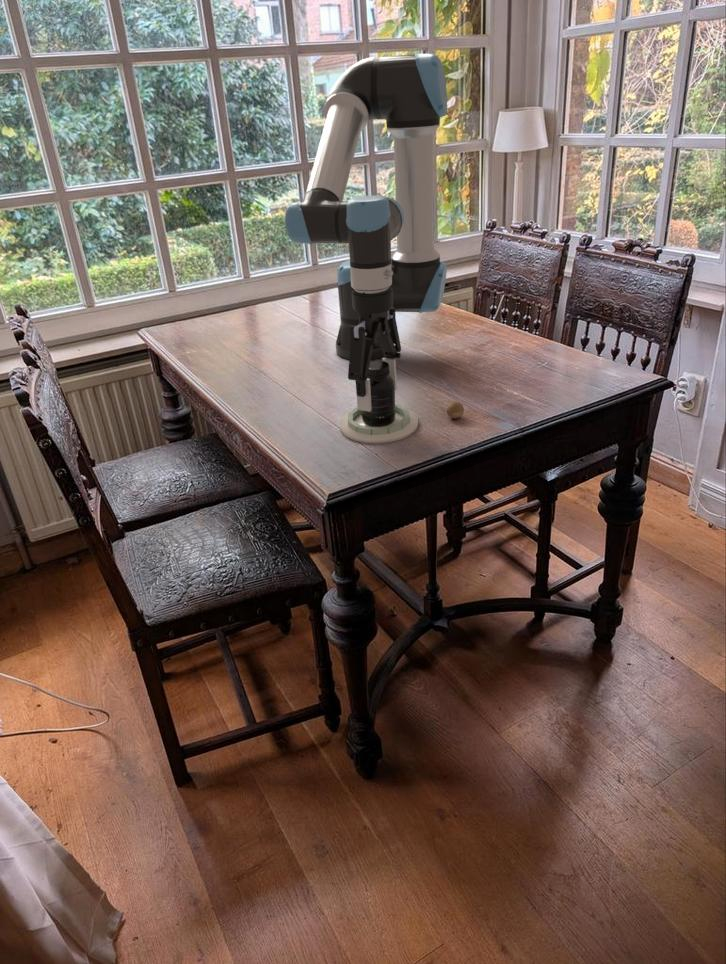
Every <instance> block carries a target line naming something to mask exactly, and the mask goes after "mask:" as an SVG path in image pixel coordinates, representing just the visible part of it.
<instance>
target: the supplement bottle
mask: <svg viewBox="0 0 726 964" xmlns="http://www.w3.org/2000/svg"><path fill="white" fill-rule="evenodd" d="M389 374H390V370H389V364H388V363H387V362H384V361H382V360H371V361H370V366H369V371H368V376H367V378H368V379H370V390H371V407H372V410H371V411H370V412H368V411H363V410H362V420H363V422H364V423H365V424H367V425H369V426H373V427H383V426H387V425H390V424H391V423H393V422H394V420H395V404H396V390H395V382H394V379H393V378H392V377H391V376H390V375H389Z"/></svg>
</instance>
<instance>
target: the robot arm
mask: <svg viewBox="0 0 726 964" xmlns="http://www.w3.org/2000/svg"><path fill="white" fill-rule="evenodd" d="M446 81H447V80H446V75H445V70H444V67H443V63H442V60H441V59H440V57H439V56H438V55H436V54H434V53H419V52H417V53H412V54H402V55H401V54H399V55H389V56H379V57H378V56H372V57H366V58H363V59H361V60H359V61H357V62H356V63H354V64H352V65H351V66H349V67H348V68H347V69H346V70H345V71H344V72H343V73H342V74H341V75H340V76H339V77H338V79H337V80H336V81H335V83H334V84H333V86H332V87H331V89H330V90H329V92H328V95H327V97H326V100H325V104H324V108H323V113H324V119H325V123H324V125H323V129H322V132H321V135H320V140H319V142H318V143H319V144H318V147H317V150H316V154H315V158H314V161H313V164H312V168H311V172H310V176H309V179H308V183H307V186H306V190H305V193H304V196H303V199H302V201H300V200H299V201H296V202H295V201H294V202H291V203H290V204H288V205H287V206H286V207H287V208H286V209H285V214H284V224H285V225H284V226H285V231H286V233H287V236H288V239H289V240H290V241H291V242H293V243H295V244H304V245H305V244H307V245H315V244H317V245H318V244H319V245H321V244H322V245H323V244H348V251H349V259H348V260H346V261H343V262H342V263H341V264H340V265H339V266H338V268H337V282H336V285H337V293H338V304H339V314H340V319H339V320H340V325H339V329H338V333H337V337H336V342H335V353H336V355H338V356H339V357H340V358H343V359H345V360H346V359H347V360H348V361H349V362H348V372H347V378H348V380H349V381H355V391H356V393H355V395H356V407H357V408H358V410H363V411H368V412H370V411H371V410H372V407H371V390H370V379H368V378H367V376H368V371H369V366H370V362H372V360H376V359H380V358H381V361H384V362H387V363H388V364H389V370H390V374H389V375H390V376H391V377H392V378H393V379H394V382H395V391H397V388H398V386H397V363H396V362H397V361H396V359H400V358H401V357H402V356H401V355H402V354H401V353H400V352H401V351H402V346H401V345H402V344H401V340H400V335H399V330H398V324H397V318H396V313H419V314H422V313H432V312H433V313H434V312H436V311H438V310H439V308H441V304H442V301H443V297H444V292H445V287H446V286H445V285H446V281H447V267H448V266H447V263H445V262H443V261H441V254H440V253H439V252H438V250H436V248H435V247H434V133H435V132H436V131H437V130H438V129H439V127H440V124H441V123H440V122H441V118H443V117H446V115H447V114H448V93H447V92H448V91H447V83H446ZM372 120H373V121H374V120H378V121H379V120H385V121H386V122H385V124H386V125H385V126H386V131H388V132H389V133H390V134H391V135H392V138H393V155H394V160H393V161H394V182H395V183H394V184H395V185H394V188H395V189H394V190H395V191H394V192H395V199H394V198H393V197H392V198H391V197H386V196H384V195H373V194H372V195H371V194H370V195H361V196H357V197H353V198H350V199H349V200H344V196H345V193H346V189H347V185H348V181H349V177H350V173H351V170H352V166H353V162H354V158H355V154H356V150H357V146H358V142H359V138H360V135H361V132H362V131H363V130H365V129H366V127H367V126H368V122H369V121H372ZM394 239H396V247H397V248H396V250H395V251H394V252H393V254H392V246H391V244H392V241H393V240H394Z"/></svg>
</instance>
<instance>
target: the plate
mask: <svg viewBox="0 0 726 964" xmlns="http://www.w3.org/2000/svg"><path fill="white" fill-rule="evenodd" d="M418 428H419V416H418V415H417V414H416V412H414V411H412V410H411V409H409V408H406V407H404V406H402V405H401V404H397V403H395V420H394V422H393V423H391V424H390V425H387V426H383V427H373V426H369V425H367V424H365V423H364V422H363V420H362V410H358V408H357V406H355V408H353V409H352V410H350V411H348V412H346V413H345V414H344V415H342V417H341V418H340V420H339V430H340V432H341V434H342V435H343V436H345V438H347V439H349V440H352V441H355V442H359V443H364V444H387V443H393V442H398V441H400V440H403V439H405V438H407V437H410V436H411V435H413V434H414V433H415V432H416V431H417V429H418Z"/></svg>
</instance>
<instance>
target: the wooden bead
mask: <svg viewBox="0 0 726 964" xmlns="http://www.w3.org/2000/svg"><path fill="white" fill-rule="evenodd" d="M464 411H465V408H464V405H463V404H462V403H461V402H459V401H451V402H450V403H448V405H447V407H446V413H447V416H448V417H450V418H452V419H453V420H454V419H457V420H458V419H460V418H462V416H463V415H464Z"/></svg>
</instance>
